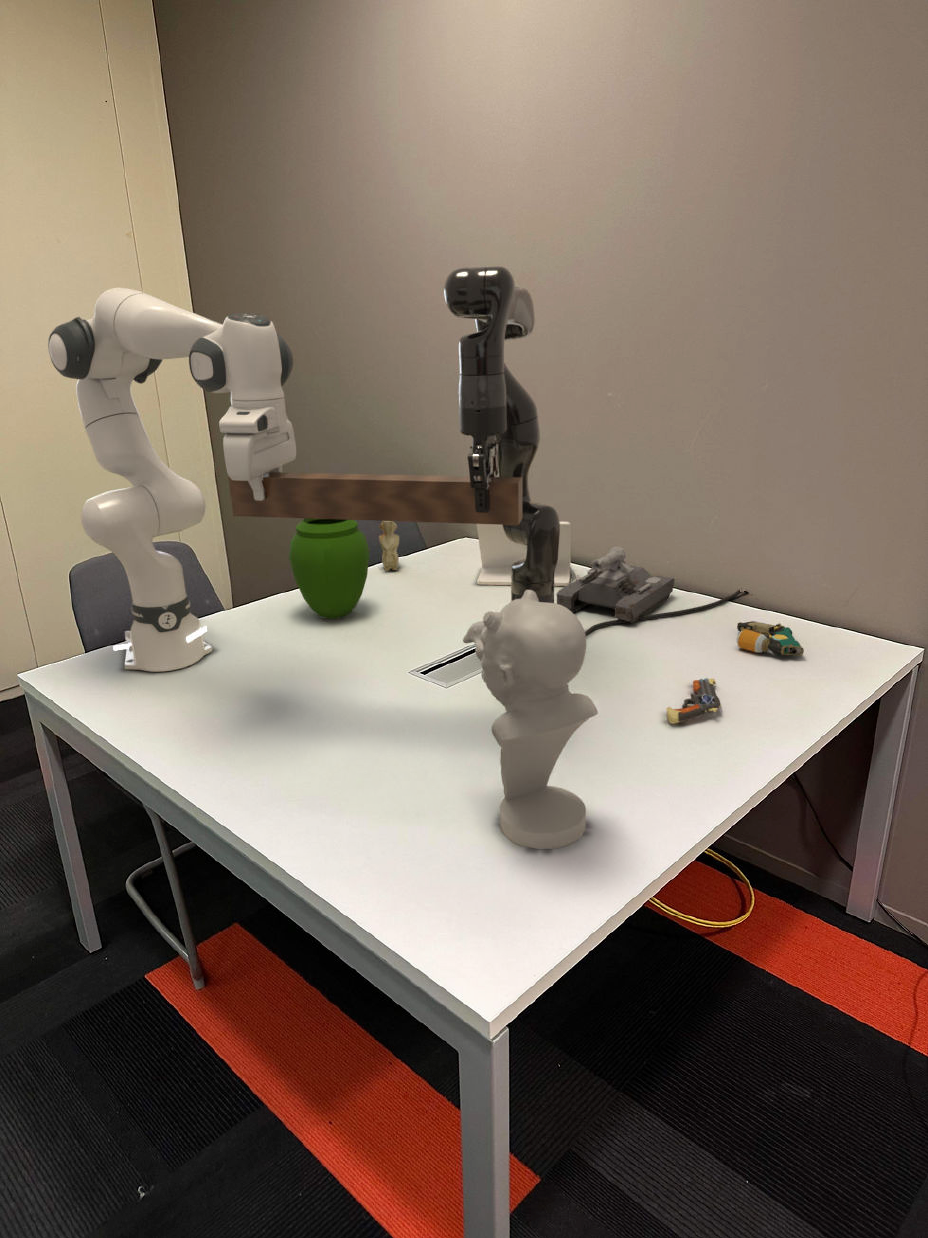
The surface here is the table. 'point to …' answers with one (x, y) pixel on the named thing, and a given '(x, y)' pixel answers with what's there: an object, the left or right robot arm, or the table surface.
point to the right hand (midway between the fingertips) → (485, 507)
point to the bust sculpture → (534, 714)
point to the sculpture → (389, 545)
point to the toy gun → (696, 702)
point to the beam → (379, 498)
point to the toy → (617, 588)
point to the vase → (329, 565)
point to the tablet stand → (515, 555)
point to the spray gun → (767, 638)
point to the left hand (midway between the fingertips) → (267, 496)
